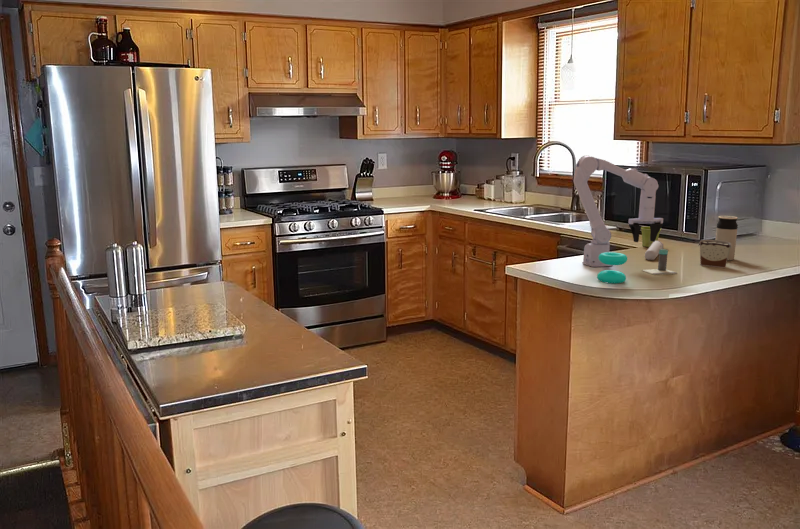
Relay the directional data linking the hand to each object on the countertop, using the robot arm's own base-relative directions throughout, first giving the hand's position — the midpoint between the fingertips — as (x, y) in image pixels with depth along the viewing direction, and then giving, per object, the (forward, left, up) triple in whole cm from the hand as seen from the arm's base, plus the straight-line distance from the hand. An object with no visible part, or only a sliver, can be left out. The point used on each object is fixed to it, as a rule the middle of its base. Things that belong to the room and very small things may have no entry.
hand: (644, 241), depth 285 cm
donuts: (-28, -22, -10) cm, 37 cm away
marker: (+1, -11, -10) cm, 14 cm away
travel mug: (+44, +6, -10) cm, 46 cm away
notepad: (-1, -13, -10) cm, 16 cm away
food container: (+30, -5, -10) cm, 32 cm away
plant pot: (+31, +40, -10) cm, 52 cm away
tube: (+18, +19, -10) cm, 28 cm away
